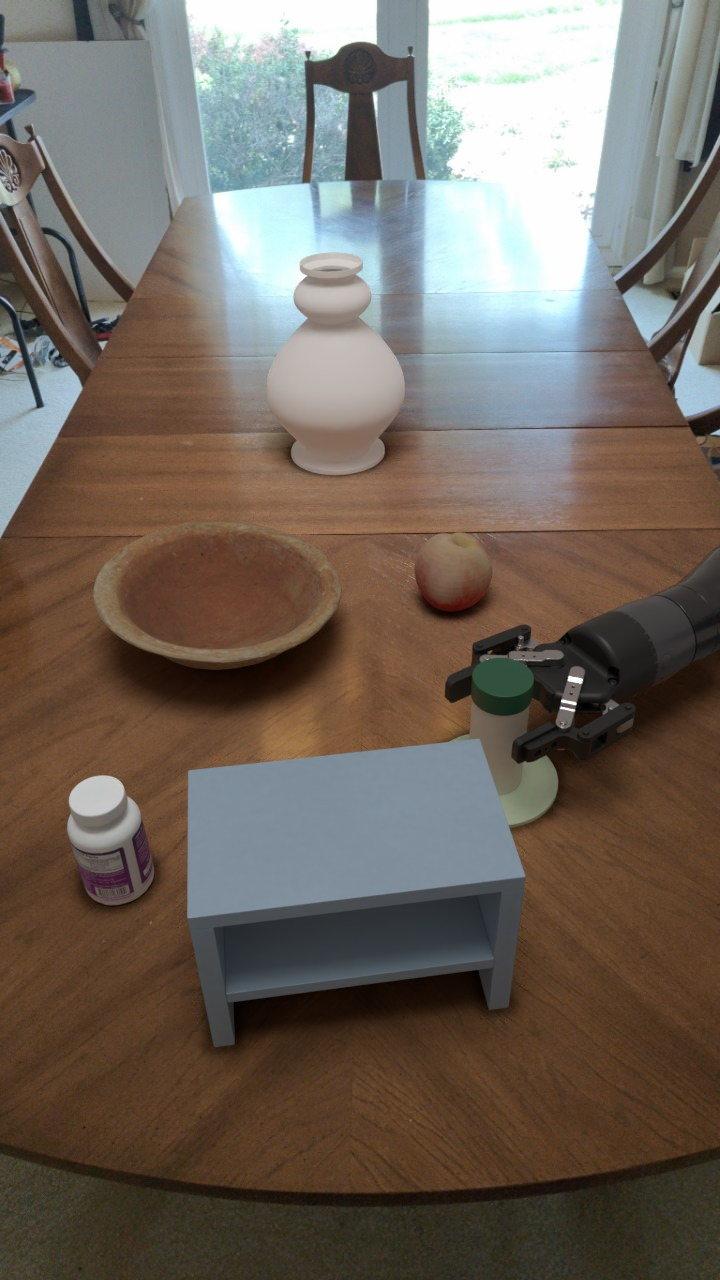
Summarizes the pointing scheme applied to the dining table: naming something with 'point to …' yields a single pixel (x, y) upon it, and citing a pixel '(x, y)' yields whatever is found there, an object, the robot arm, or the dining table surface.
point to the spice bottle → (501, 715)
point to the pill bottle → (109, 841)
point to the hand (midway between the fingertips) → (479, 721)
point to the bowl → (217, 593)
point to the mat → (529, 791)
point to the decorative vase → (335, 372)
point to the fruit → (453, 571)
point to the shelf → (349, 875)
